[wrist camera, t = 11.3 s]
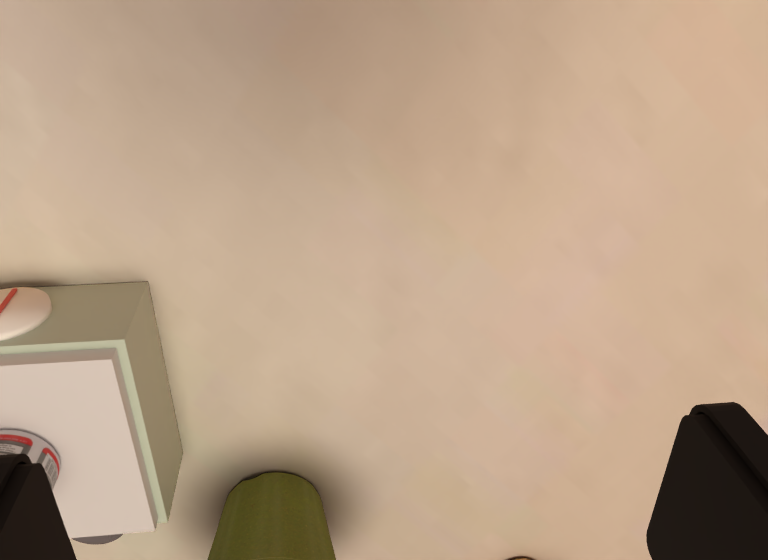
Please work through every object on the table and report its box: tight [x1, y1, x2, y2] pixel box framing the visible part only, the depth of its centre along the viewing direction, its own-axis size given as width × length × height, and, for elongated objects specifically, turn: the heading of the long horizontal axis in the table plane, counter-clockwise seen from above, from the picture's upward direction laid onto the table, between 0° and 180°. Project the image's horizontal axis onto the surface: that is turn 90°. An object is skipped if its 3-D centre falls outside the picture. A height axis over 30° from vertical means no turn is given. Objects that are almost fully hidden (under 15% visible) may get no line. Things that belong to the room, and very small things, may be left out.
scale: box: [0, 282, 183, 538], centre depth 39 cm, size 15×14×7 cm
